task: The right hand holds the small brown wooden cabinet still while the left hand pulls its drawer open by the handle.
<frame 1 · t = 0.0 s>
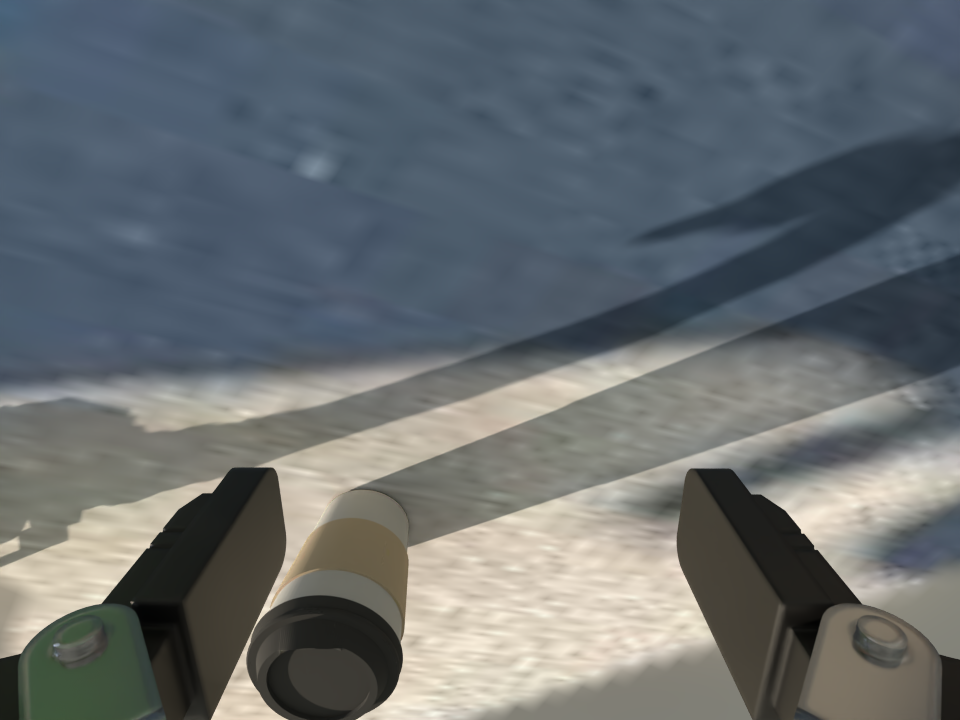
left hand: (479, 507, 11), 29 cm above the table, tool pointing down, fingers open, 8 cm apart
coffee cup: (365, 524, 47), on the table
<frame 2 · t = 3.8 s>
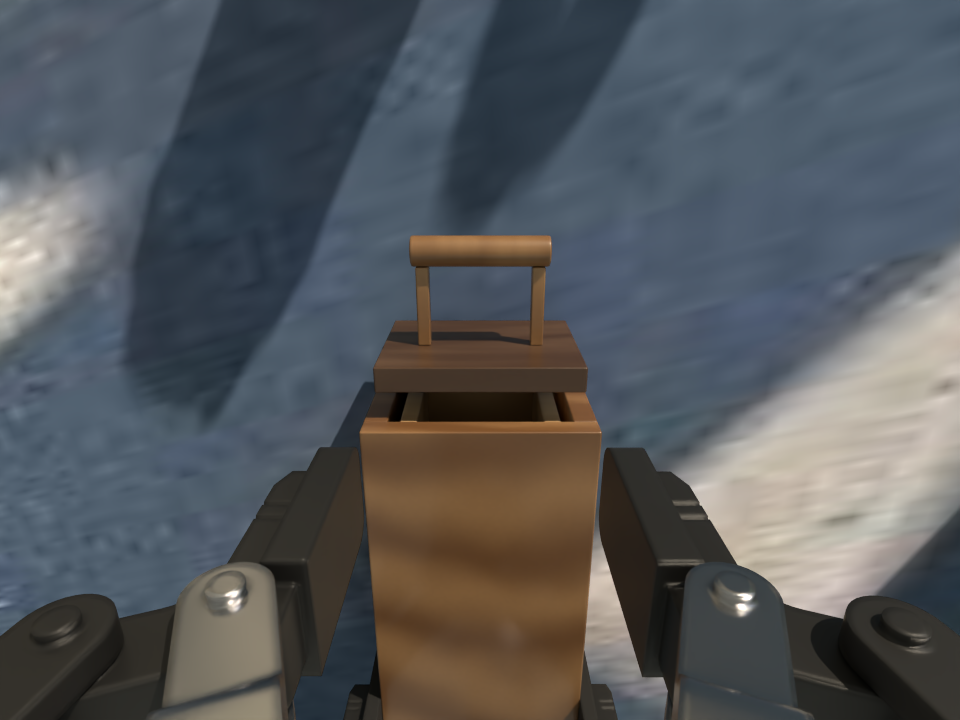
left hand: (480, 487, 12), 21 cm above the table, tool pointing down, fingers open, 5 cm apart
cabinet: (480, 517, 38), on the table, touching right hand
drawer: (480, 477, 31), point 5 cm above the table, slide at 1.4 cm
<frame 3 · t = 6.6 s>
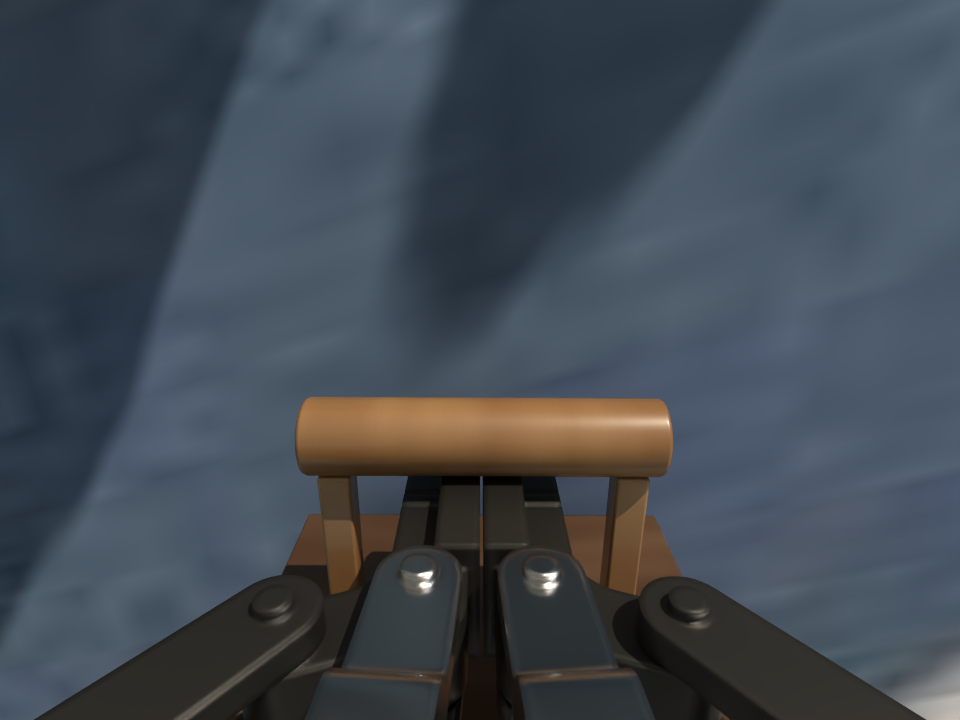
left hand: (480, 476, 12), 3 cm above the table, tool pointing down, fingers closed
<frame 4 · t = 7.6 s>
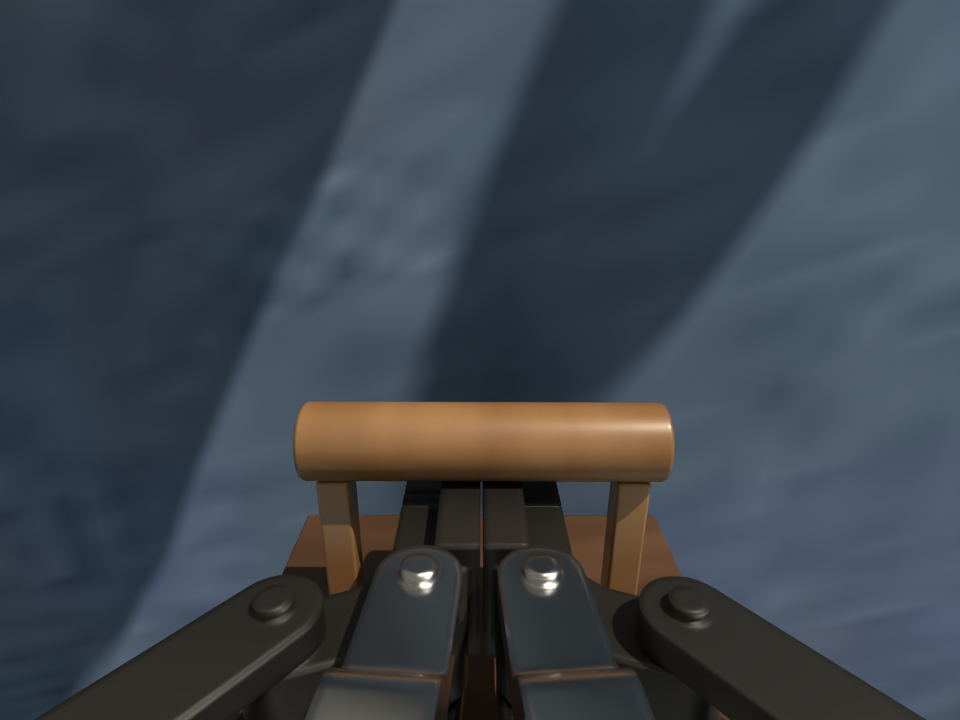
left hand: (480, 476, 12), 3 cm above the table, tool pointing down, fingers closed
when the right hand's fingers open (4 cm above the table, at t = 9.5 s): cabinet stays where it is, on the table.
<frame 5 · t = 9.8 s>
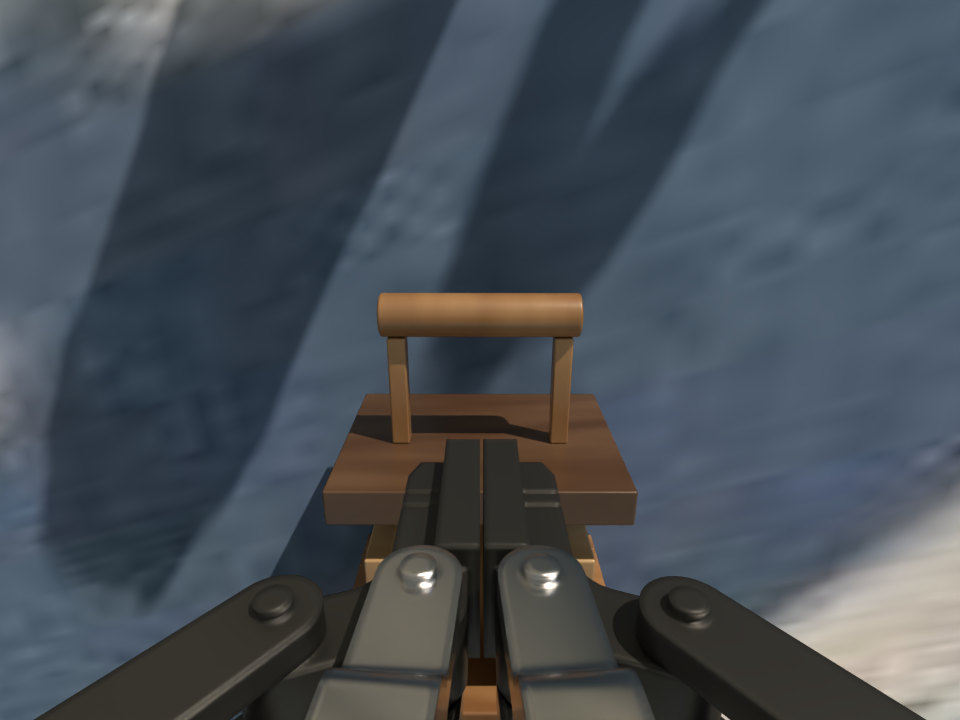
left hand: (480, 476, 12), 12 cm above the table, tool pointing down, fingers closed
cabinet: (479, 703, 32), on the table
drawer: (479, 607, 23), point 5 cm above the table, slide at 6.5 cm
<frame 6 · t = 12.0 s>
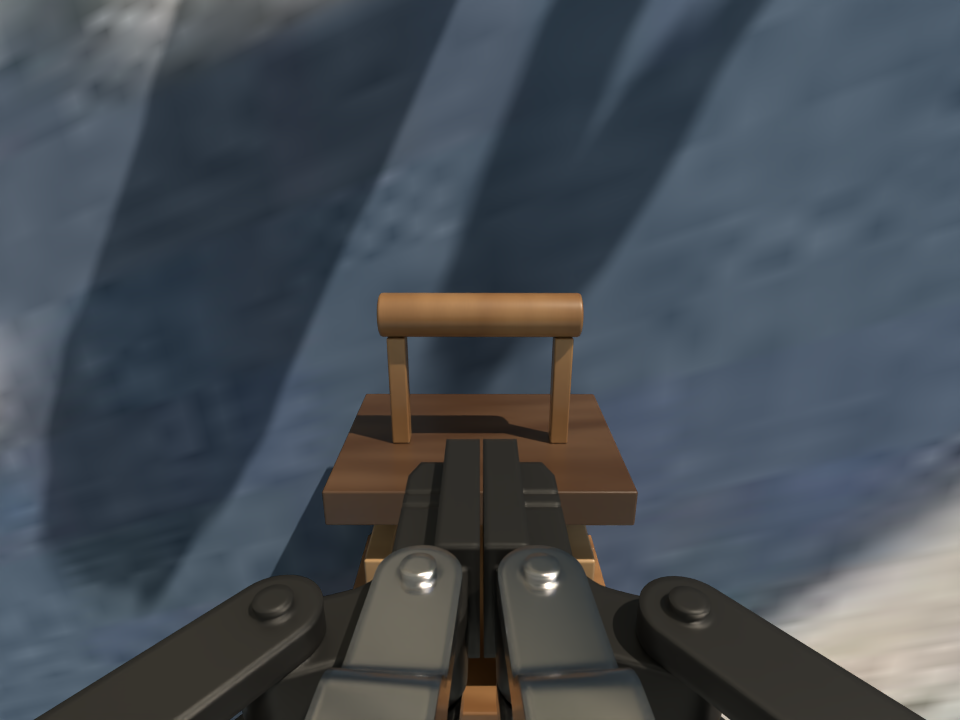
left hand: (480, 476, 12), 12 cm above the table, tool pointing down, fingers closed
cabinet: (479, 703, 32), on the table
drawer: (479, 607, 23), point 5 cm above the table, slide at 6.5 cm
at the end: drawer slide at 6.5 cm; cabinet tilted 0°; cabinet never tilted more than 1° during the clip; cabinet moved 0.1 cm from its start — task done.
